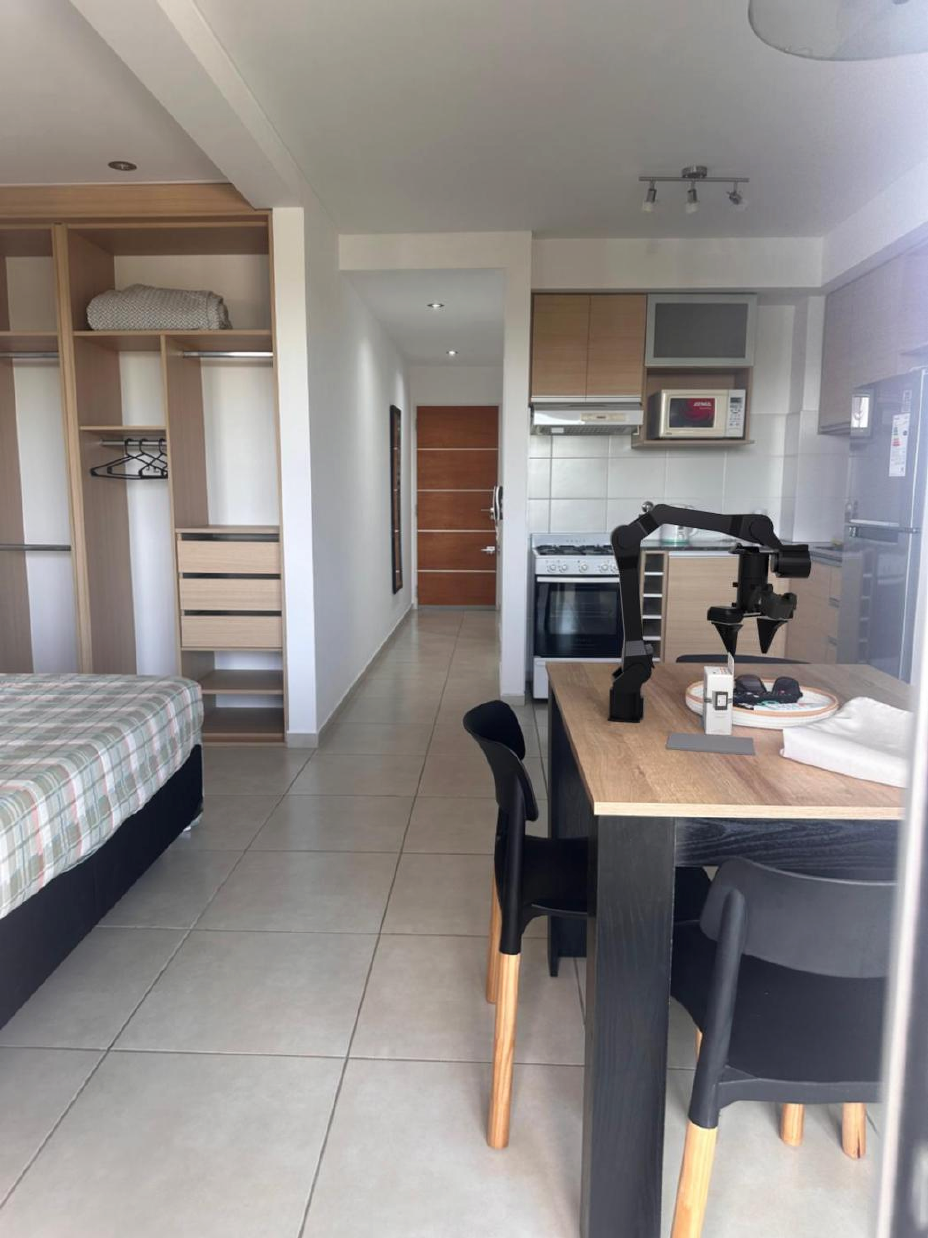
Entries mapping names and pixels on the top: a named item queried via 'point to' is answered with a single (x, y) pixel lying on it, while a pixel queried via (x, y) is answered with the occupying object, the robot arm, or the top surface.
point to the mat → (711, 743)
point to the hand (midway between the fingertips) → (748, 655)
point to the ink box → (718, 699)
